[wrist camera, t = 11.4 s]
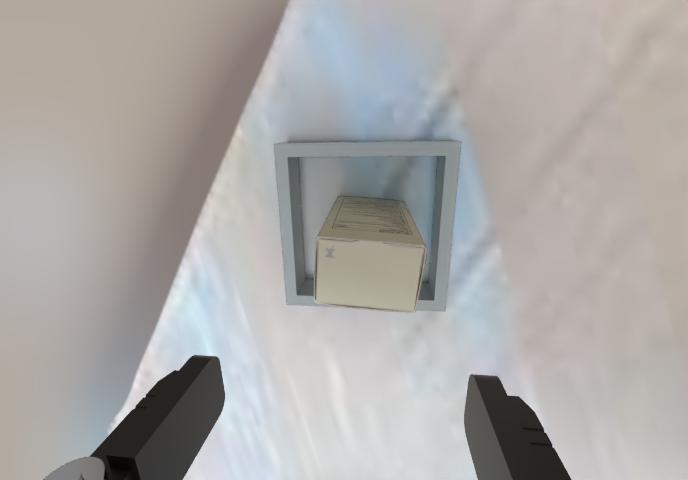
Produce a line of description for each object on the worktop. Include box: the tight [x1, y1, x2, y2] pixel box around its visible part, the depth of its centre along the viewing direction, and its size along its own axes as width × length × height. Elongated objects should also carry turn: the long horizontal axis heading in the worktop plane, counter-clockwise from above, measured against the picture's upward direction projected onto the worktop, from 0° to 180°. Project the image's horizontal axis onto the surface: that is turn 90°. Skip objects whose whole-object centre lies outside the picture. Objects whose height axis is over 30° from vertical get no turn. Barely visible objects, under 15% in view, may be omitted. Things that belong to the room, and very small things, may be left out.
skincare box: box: [314, 196, 427, 313], centre depth 24 cm, size 6×4×12 cm
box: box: [274, 140, 461, 311], centre depth 28 cm, size 14×14×4 cm
